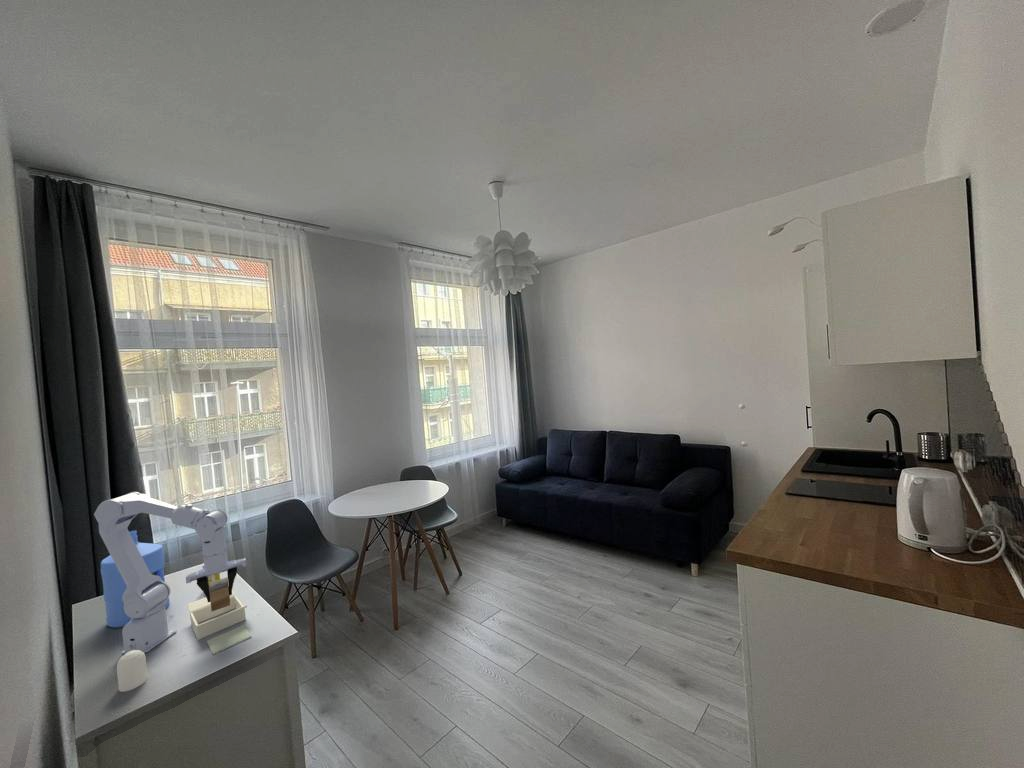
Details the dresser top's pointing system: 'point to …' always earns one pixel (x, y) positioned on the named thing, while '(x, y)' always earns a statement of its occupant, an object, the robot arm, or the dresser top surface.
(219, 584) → the walnut block
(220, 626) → the carton
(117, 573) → the water jug
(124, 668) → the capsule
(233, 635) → the mat
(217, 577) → the supplement bottle
